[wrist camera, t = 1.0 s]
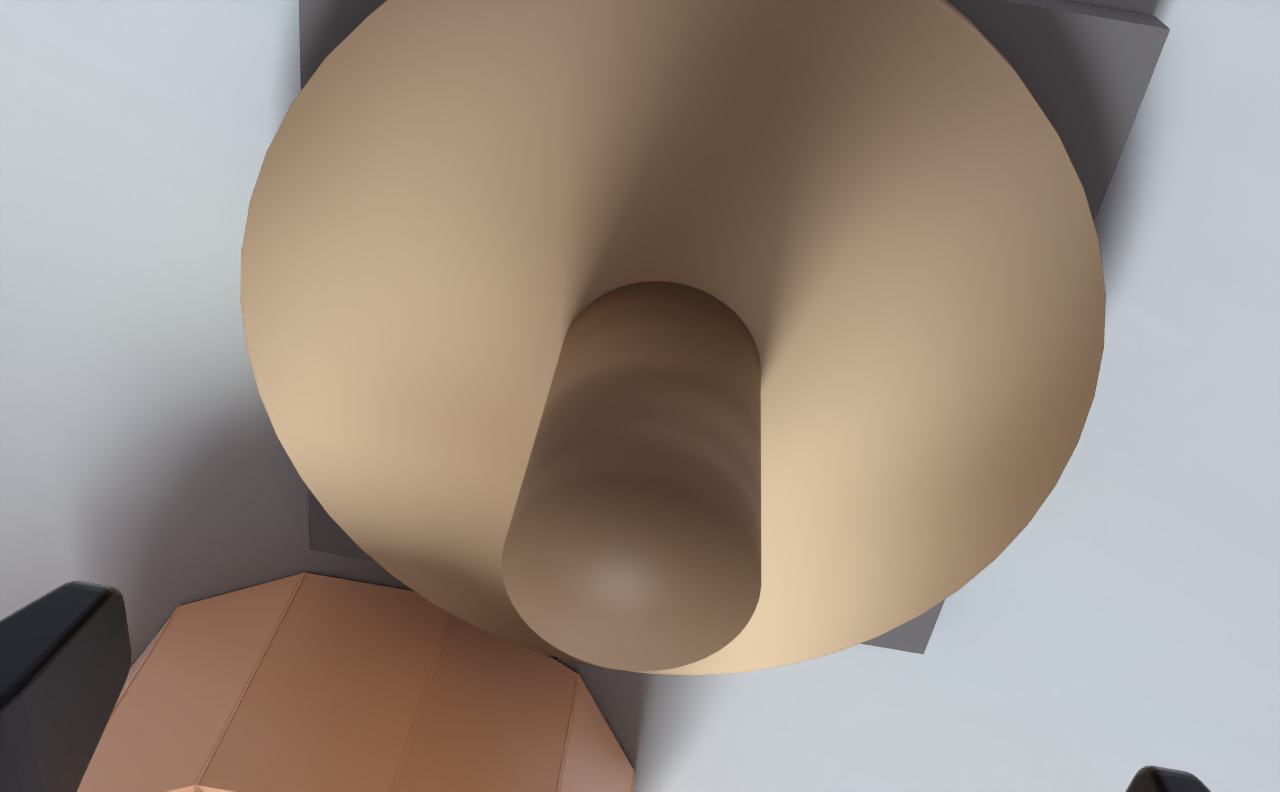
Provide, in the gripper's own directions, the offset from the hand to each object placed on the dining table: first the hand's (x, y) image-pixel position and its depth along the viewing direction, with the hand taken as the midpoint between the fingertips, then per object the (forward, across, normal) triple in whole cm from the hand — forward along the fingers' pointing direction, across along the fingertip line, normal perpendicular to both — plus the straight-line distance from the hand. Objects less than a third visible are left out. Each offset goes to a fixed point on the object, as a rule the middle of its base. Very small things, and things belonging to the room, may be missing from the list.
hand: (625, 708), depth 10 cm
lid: (+7, 0, 0) cm, 7 cm away
